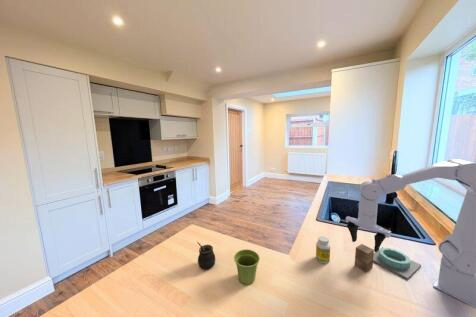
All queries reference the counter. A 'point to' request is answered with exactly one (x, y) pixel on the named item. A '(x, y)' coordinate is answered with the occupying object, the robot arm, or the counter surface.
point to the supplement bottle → (323, 250)
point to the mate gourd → (206, 257)
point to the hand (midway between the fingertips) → (364, 245)
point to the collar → (396, 262)
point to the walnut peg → (364, 258)
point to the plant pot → (246, 265)
